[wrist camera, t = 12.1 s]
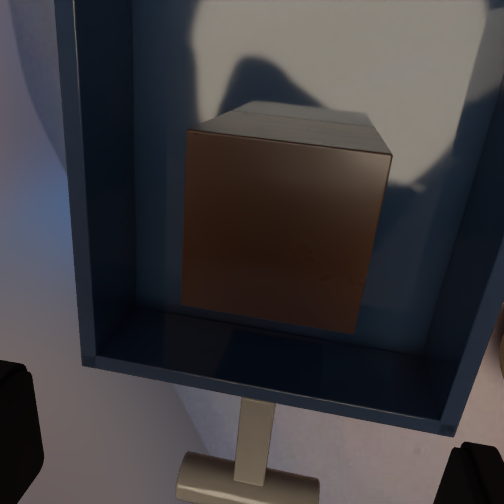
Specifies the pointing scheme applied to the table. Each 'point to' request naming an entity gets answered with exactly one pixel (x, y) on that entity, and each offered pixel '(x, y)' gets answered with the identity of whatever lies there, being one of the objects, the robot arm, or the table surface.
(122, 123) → the blue open box
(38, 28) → the table surface
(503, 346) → the apple
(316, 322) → the block
